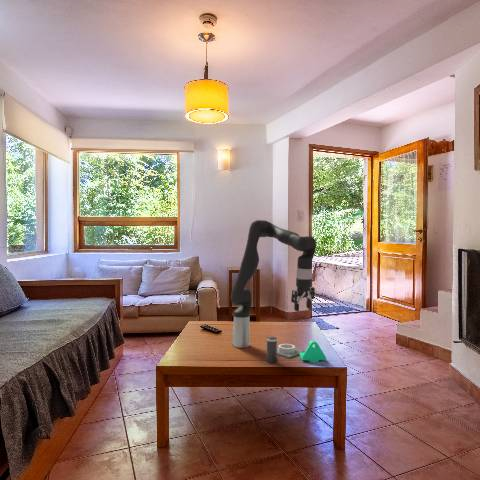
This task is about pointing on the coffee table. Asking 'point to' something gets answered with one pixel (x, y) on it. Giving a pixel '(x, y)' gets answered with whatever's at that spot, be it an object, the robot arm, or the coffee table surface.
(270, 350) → the lens
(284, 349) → the mount plate
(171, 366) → the coffee table surface
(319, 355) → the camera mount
